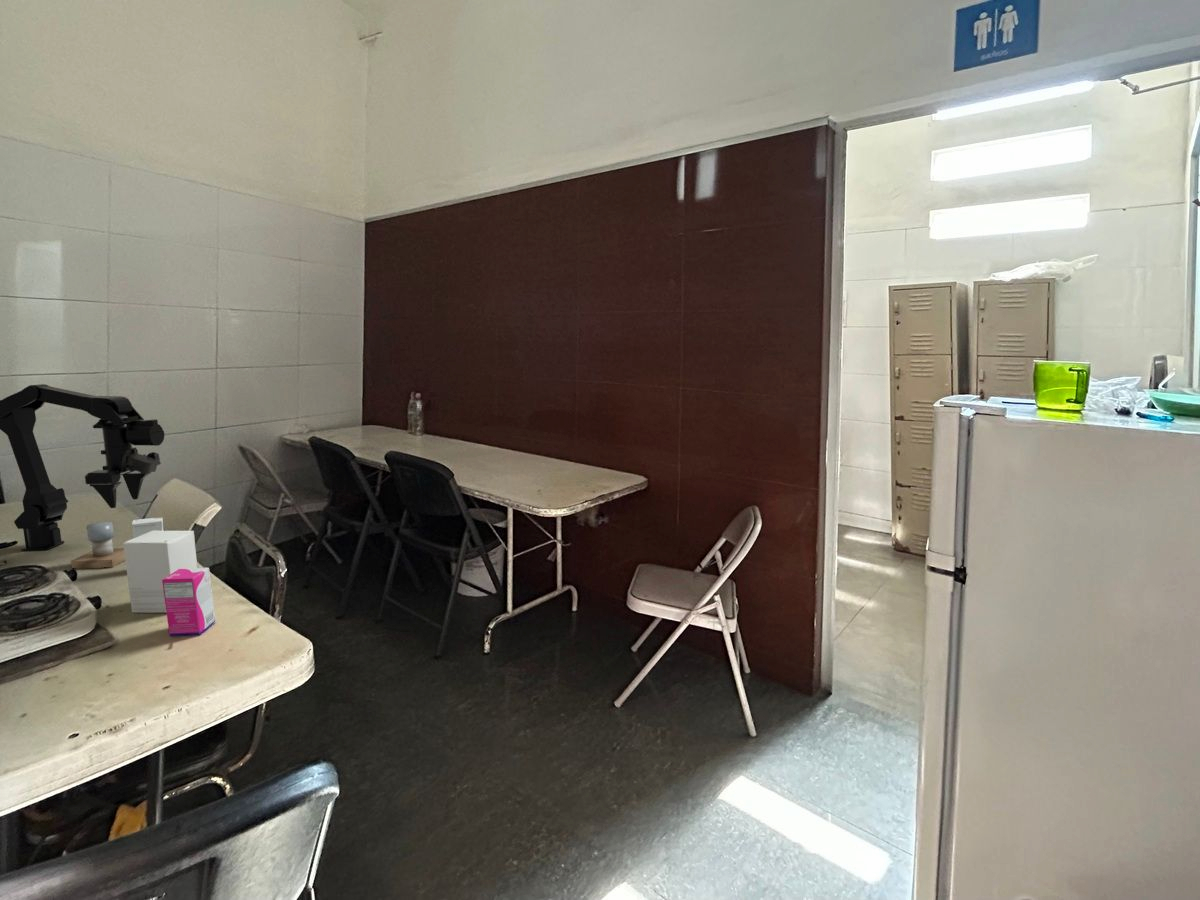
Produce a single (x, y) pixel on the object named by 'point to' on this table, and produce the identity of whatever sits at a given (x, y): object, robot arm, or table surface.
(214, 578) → the table surface
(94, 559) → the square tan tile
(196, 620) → the supplement box
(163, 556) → the supplement box
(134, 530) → the skincare box
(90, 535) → the smooth rounded gray lump
